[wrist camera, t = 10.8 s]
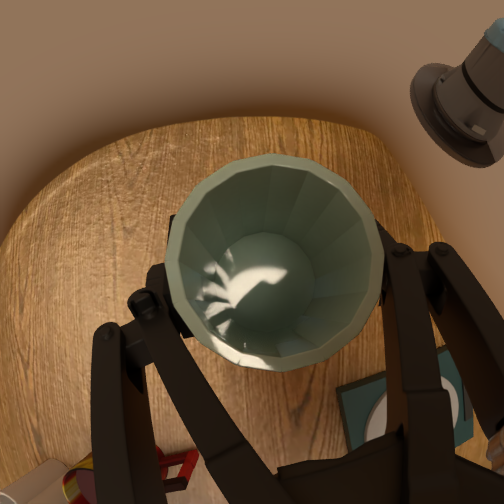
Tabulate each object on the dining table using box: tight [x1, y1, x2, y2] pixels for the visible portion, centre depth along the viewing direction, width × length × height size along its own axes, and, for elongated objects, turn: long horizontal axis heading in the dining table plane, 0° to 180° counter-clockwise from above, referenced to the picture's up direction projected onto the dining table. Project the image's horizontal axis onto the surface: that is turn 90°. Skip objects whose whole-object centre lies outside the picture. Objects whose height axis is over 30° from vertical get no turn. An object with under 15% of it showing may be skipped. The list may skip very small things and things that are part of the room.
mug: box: [62, 445, 199, 504], centre depth 28 cm, size 10×14×12 cm
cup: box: [164, 153, 384, 372], centre depth 16 cm, size 7×7×11 cm
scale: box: [336, 345, 473, 453], centre depth 33 cm, size 19×16×4 cm
